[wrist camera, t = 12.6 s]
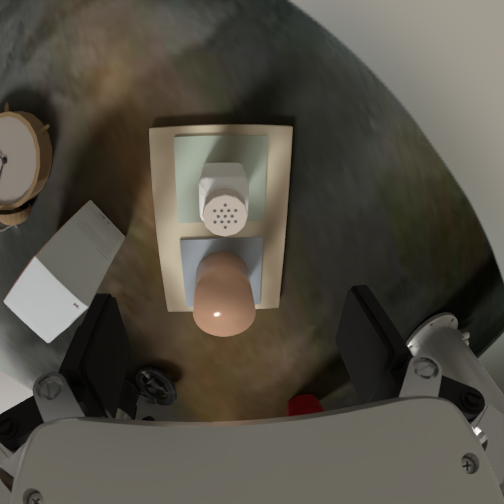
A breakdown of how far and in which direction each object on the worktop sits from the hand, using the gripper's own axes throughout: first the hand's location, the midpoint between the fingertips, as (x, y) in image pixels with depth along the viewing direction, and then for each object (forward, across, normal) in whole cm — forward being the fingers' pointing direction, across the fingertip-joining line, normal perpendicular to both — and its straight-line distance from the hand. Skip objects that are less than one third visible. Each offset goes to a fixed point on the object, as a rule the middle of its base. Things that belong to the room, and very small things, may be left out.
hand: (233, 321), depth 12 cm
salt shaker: (+21, 0, 0) cm, 21 cm away
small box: (+22, +16, +6) cm, 28 cm away
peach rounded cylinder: (+20, 0, +11) cm, 23 cm away
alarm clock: (+22, +26, -3) cm, 34 cm away
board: (+22, 0, +5) cm, 23 cm away
